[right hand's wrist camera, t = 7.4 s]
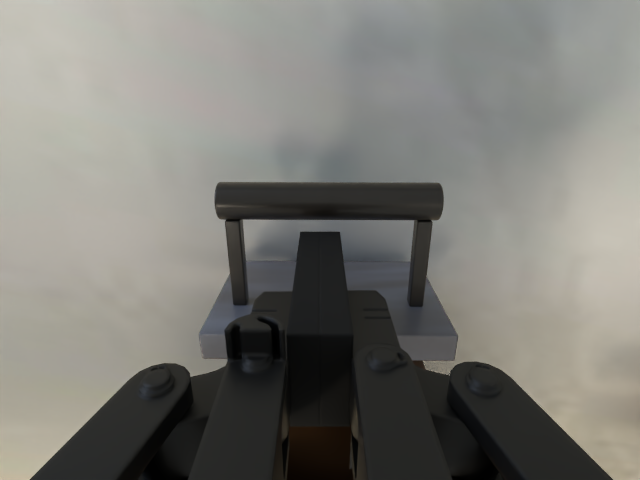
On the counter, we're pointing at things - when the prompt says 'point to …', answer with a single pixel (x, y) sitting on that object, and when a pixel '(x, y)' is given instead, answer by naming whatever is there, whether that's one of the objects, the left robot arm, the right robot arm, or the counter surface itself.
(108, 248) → the counter surface
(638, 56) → the counter surface
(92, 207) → the counter surface
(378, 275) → the drawer
